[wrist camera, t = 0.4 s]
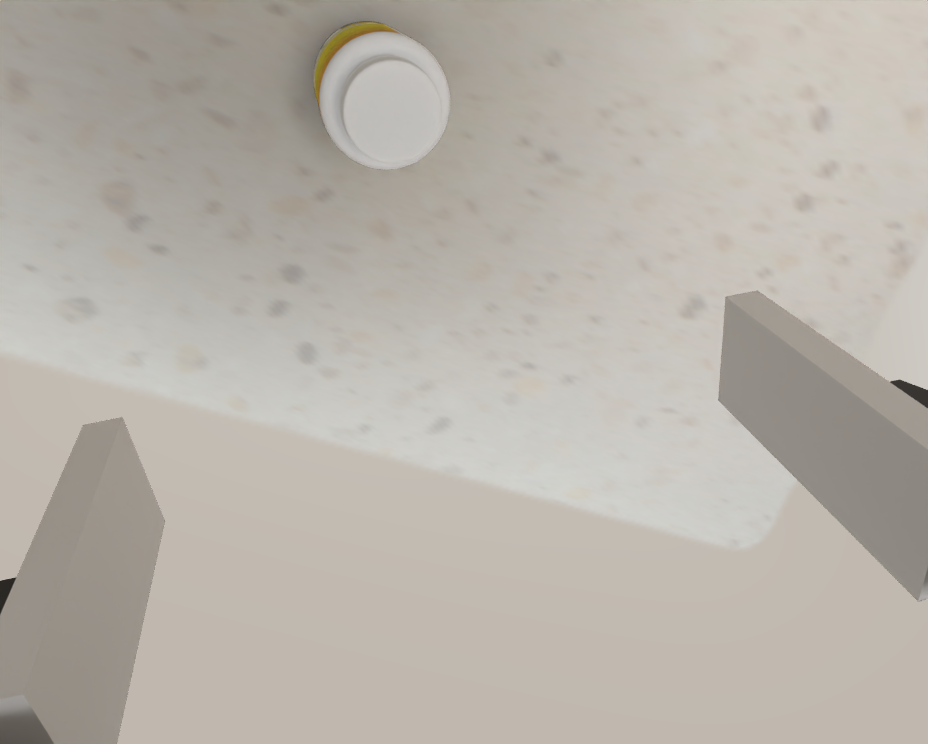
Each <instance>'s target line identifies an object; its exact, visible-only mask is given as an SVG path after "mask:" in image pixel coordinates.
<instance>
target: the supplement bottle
mask: <svg viewBox="0 0 928 744" xmlns="http://www.w3.org/2000/svg"><path fill="white" fill-rule="evenodd" d="M313 79H314V90H315V94H316V98H317V102H318V105H319V110H320V113H321V117H322V121H323V124H324V126H325V128H326V130H327V132H328V134H329V136H330V138H331V139H332V141H333V142H334V144H335V145H336V146H337V147H338V148H339V149H340V150H341V151H342V152H343V153H344V154H345V155H346V156H348V157H349V158H350V159H352V160H353V161H355V162H357V163H359V164H361V165H364V166H367V167H370V168H374V169H380V170H392V169H399V168H403V167H406V166H409V165H411V164H413V163H415V162H417V161H419V160H420V159H422V158H423V157H425V156H426V155H427V154H428V153H429V152H430V151H431V150H432V149H433V148H434V147H435V146H436V144H437V143H438V142H439V140H440V138H441V137H442V135H443V133H444V131H445V128H446V125H447V122H448V118H449V113H450V92H449V87H448V82H447V79H446V77H445V74H444V72H443V70H442V68H441V66H440V64H439V63H438V61H437V60H436V58H435V57H434V56H433V55H432V54H431V53H430V52H429V51H428V49H427V48H425V47H424V46H423V45H422V44H420V43H419V42H417V41H415V40H413V39H412V38H410V37H408V36H406V35H405V34H403V33H401V32H399V31H397V30H395V29H393V28H392V27H389V26H387V25H384V24H381V23H377V22H370V21H364V22H356V23H352V24H349V25H346V26H344V27H342V28H340V29H339V30H337V31H336V32H334V33H333V34H332V35H331V36H330V37H329V38H328V39H327V40H326V42H325V43H324V44H323V46H322V48H321V49H320V51H319V54H318V56H317V59H316V62H315V67H314V76H313Z"/></svg>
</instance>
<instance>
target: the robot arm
mask: <svg viewBox="0 0 928 744" xmlns="http://www.w3.org/2000/svg"><path fill="white" fill-rule="evenodd" d="M718 400H719V401H720V402H721V403H722V404H723V405H724V406H725V407H726V409H727V410H728V411H729V412H730V413H731V414H732V415H733V416H734V417H735V418H736V419H737V420H738V421H739V422H740V423H741V424H742V425H743V426H744V427H745V428H746V429H747V430H748V431H749V432H750V433H751V434H752V435H753V436H754V437H755V438H756V439H757V440H758V441H759V442H760V443H761V444H762V445H763V446H764V447H765V448H766V449H767V450H768V451H769V452H770V453H771V454H772V455H773V456H774V457H775V458H776V459H777V460H778V461H779V462H780V463H781V464H782V465H783V466H784V467H785V468H786V469H787V470H788V471H789V472H790V473H791V474H792V475H793V476H794V477H795V478H796V479H797V480H798V481H799V482H800V483H801V484H802V485H803V486H804V487H805V488H806V489H807V490H808V491H809V492H810V493H811V494H812V495H813V496H814V497H815V498H816V499H817V500H818V501H819V502H820V503H821V504H822V505H823V506H824V507H825V508H826V509H827V510H828V511H829V512H830V513H831V514H832V515H833V516H834V517H835V518H836V519H837V520H838V521H839V522H840V523H841V524H842V525H843V526H844V527H845V528H846V529H847V530H848V531H849V532H850V533H851V534H852V535H853V536H854V537H855V538H856V539H857V540H858V541H859V542H860V543H861V544H862V545H863V546H864V547H865V548H866V549H867V550H868V551H869V552H870V553H871V555H872V556H874V557H875V559H876V560H877V561H878V562H880V564H882V565H883V567H884V568H885V569H887V571H889V573H890V574H891V575H892V576H893V577H894V578H895V579H896V580H897V581H898V582H899V583H900V584H902V586H903V587H904V588H905V589H906V590H907V591H908V592H909V593H910V594H911V595H912V596H913V597H914V598H915V599H916V600H917V601H922V600H926V599H928V390H926V389H923V388H920V387H918V386H915V385H912V384H910V383H907V382H904V381H902V380H896V381H891V382H889V381H887V380H886V379H884V378H883V377H882V376H880V375H879V374H877V373H876V372H874V371H873V370H871V369H870V368H869V367H867V366H866V365H864V364H863V363H861V362H860V361H858V360H857V359H856V358H854V357H853V356H851V355H850V354H848V353H847V352H845V351H844V350H843V349H841V348H840V347H838V346H837V345H835V344H834V343H832V342H831V341H829V340H828V339H827V338H825V337H824V336H822V335H821V334H819V333H818V332H816V331H815V330H814V329H812V328H811V327H809V326H808V325H806V324H805V323H803V322H802V321H801V320H799V319H798V318H796V317H795V316H793V315H792V314H790V313H789V312H788V311H786V310H785V309H783V308H782V307H780V306H779V305H777V304H776V303H775V302H773V301H772V300H770V299H769V298H767V297H766V296H764V295H763V294H762V293H760V292H759V291H752V292H747V293H742V294H737V295H732V296H727V297H726V299H725V313H724V327H723V341H722V355H721V369H720V383H719V397H718ZM164 523H165V520H164V517H163V515H162V513H161V510H160V508H159V505H158V503H157V500H156V498H155V495H154V493H153V490H152V488H151V486H150V483H149V481H148V478H147V476H146V473H145V471H144V469H143V466H142V464H141V461H140V459H139V456H138V454H137V451H136V449H135V447H134V444H133V442H132V439H131V437H130V434H129V432H128V429H127V427H126V425H125V422H124V420H123V418H122V417H121V418H116V419H111V420H106V421H101V422H96V423H91V424H86V425H83V427H82V429H81V431H80V433H79V436H78V438H77V440H76V443H75V445H74V447H73V450H72V452H71V454H70V456H69V459H68V461H67V463H66V465H65V468H64V470H63V472H62V475H61V477H60V479H59V482H58V484H57V486H56V488H55V491H54V493H53V495H52V497H51V500H50V502H49V504H48V507H47V509H46V511H45V513H44V516H43V518H42V520H41V523H40V525H39V527H38V530H37V532H36V535H35V537H34V539H33V541H32V544H31V546H30V548H29V550H28V552H27V555H26V557H25V559H24V561H23V564H22V566H21V569H20V571H19V573H18V575H17V577H16V578H12V579H7V580H2V581H0V744H117V741H118V736H119V732H120V727H121V723H122V718H123V713H124V709H125V704H126V700H127V695H128V690H129V686H130V681H131V676H132V672H133V667H134V663H135V658H136V653H137V649H138V644H139V639H140V634H141V630H142V625H143V620H144V616H145V611H146V607H147V602H148V597H149V593H150V588H151V584H152V579H153V574H154V570H155V565H156V560H157V556H158V551H159V546H160V542H161V537H162V532H163V528H164Z"/></svg>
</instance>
